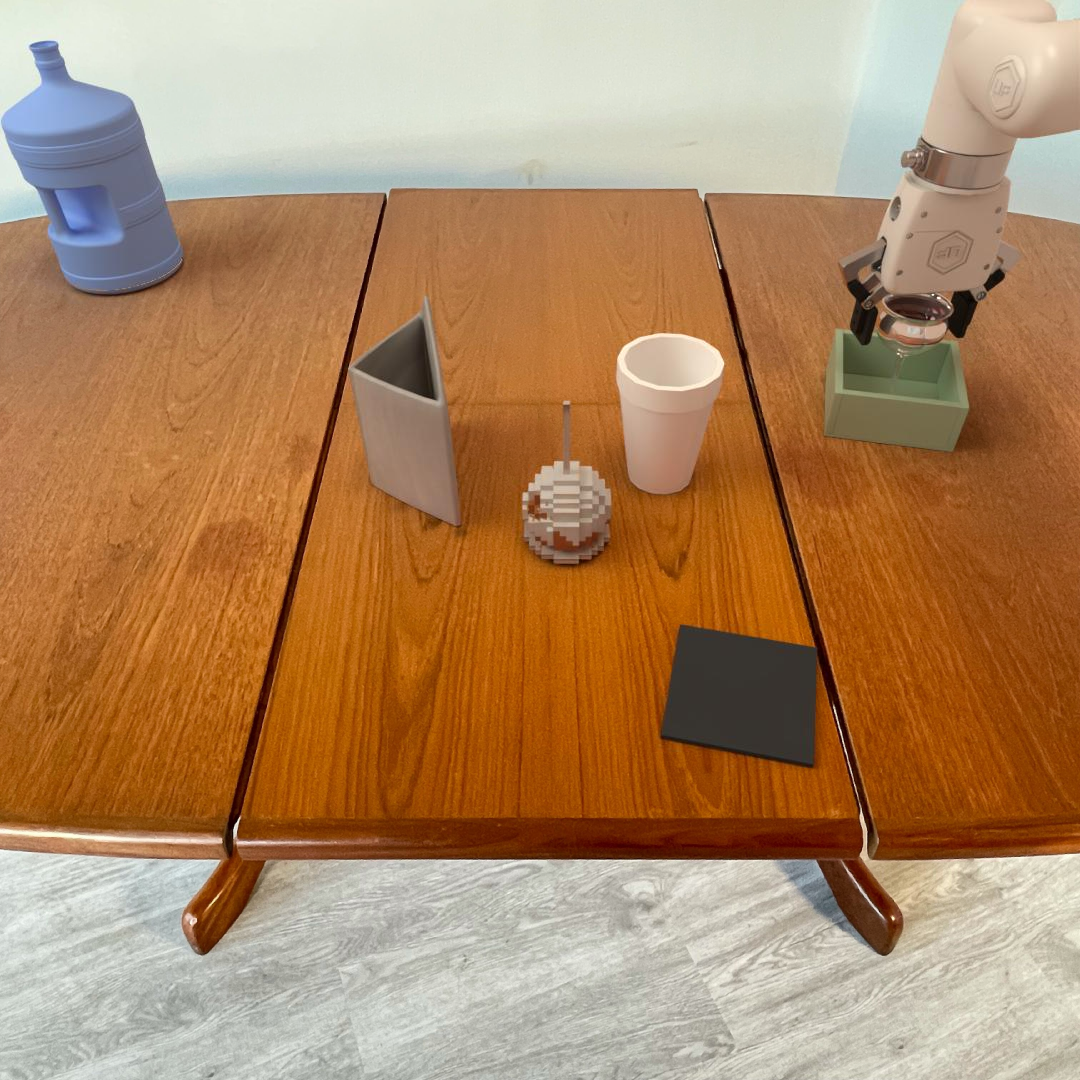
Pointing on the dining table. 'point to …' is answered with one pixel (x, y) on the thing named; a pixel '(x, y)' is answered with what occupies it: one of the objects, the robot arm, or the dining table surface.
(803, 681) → the mat
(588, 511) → the decorative ornament
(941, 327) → the wineglass
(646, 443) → the foam cup
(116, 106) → the water jug
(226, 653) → the dining table surface
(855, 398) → the bin
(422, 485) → the planter
